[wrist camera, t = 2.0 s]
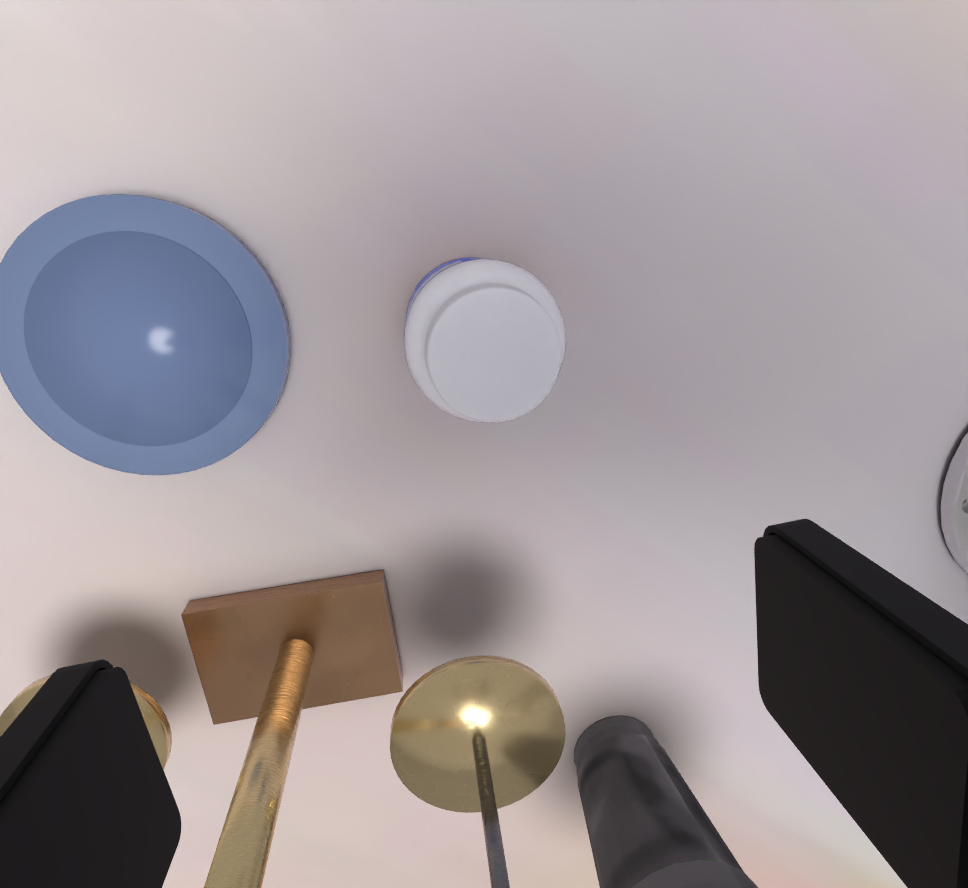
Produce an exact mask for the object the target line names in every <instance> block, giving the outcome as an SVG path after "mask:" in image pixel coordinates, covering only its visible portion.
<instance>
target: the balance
mask: <svg viewBox="0 0 968 888" xmlns="http://www.w3.org/2000/svg"><path fill="white" fill-rule="evenodd" d="M181 616H182V619H183V623H184V626H185V629H186V633H187V636H188V639H189V643H190V646H191V650H192V653H193V656H194V660H195V663H196V667H197V670H198V673H199V677H200V680H201V683H202V687H203V690H204V694H205V697H206V700H207V704H208V707H209V711H210V714H211V717H212V721H213V724H214V725H215V724H220V723H226V722H232V721H237V720H243V719H249V718H254V717H258V719H257V722H256V725H255V729H254V732H253V735H252V738H251V741H250V744H249V748H248V751H247V754H246V757H245V760H244V763H243V766H242V770H241V773H240V776H239V779H238V782H237V785H236V788H235V792H234V795H233V798H232V801H231V804H230V807H229V811H228V814H227V817H226V820H225V823H224V826H223V829H222V833H221V836H220V839H219V842H218V845H217V848H216V851H215V855H214V858H213V861H212V864H211V867H210V870H209V874H208V877H207V880H206V883H205V886H204V888H261V886H262V882H263V878H264V873H265V869H266V864H267V860H268V856H269V851H270V847H271V842H272V838H273V834H274V829H275V825H276V820H277V816H278V812H279V807H280V803H281V799H282V794H283V790H284V785H285V781H286V777H287V772H288V768H289V763H290V759H291V755H292V750H293V746H294V741H295V737H296V733H297V728H298V724H299V719H300V715H301V711H302V709H306V708H311V707H317V706H323V705H328V704H334V703H340V702H345V701H351V700H357V699H363V698H368V697H374V696H380V695H385V694H391V693H397V692H402V691H403V675H402V669H401V664H400V659H399V653H398V648H397V642H396V637H395V631H394V626H393V621H392V615H391V610H390V604H389V599H388V594H387V588H386V583H385V577H384V572H383V570H378V571H372V572H365V573H359V574H353V575H347V576H341V577H334V578H328V579H322V580H316V581H310V582H303V583H297V584H291V585H285V586H279V587H272V588H266V589H260V590H254V591H248V592H241V593H235V594H229V595H223V596H217V597H210V598H204V599H198V600H192V601H189V603H188V604H187V606H186V608H185V609H184V611H183V612H182V614H181ZM50 676H51V675H50ZM50 676H47V677H45V678H42V679H40V680H38V681H36V682H34V683H32V684H31V685H29V686H28V687H26V688H25V689H24V690H23V691H22V692H21V693H19V694H18V695H17V696H16V698H15V699H14V700H13V701H12V702H11V703H10V704H9V706H8V707H7V708H6V709H5V711H4V712H3V713H2V715H1V717H0V737H1V736H2V734H3V733H4V732H5V731H6V730H7V728H8V727H9V726H10V725H11V724H12V722H13V721H14V720H15V719H16V717H17V716H18V715H19V714H20V713H21V711H22V710H23V709H24V708H25V707H26V705H27V704H28V703H29V702H30V701H31V699H32V698H33V697H34V696H35V694H36V693H37V692H38V691H39V690H40V688H41V687H42V686H43V685H44V684H45V682H46V681H47V680H48V679H49V677H50ZM130 684H131V687H132V689H133V692H134V695H135V697H136V700H137V703H138V705H139V708H140V710H141V713H142V716H143V718H144V721H145V723H146V726H147V729H148V731H149V734H150V737H151V739H152V742H153V744H154V747H155V750H156V752H157V755H158V757H159V760H160V763H161V765H162V768H163V769H164V767H165V765H166V763H167V761H168V759H169V755H170V752H171V745H172V736H171V730H170V725H169V723H168V720H167V718H166V716H165V714H164V712H163V710H162V709H161V707H160V706H159V705H158V704H157V702H156V701H155V700H154V699H153V698H152V697H151V696H150V695H149V694H148V693H146V692H145V691H144V690H142V689H141V688H140V687H138V686H136V685H134V684H133V683H131V682H130ZM564 742H565V723H564V717H563V714H562V711H561V708H560V705H559V702H558V699H557V697H556V695H555V693H554V691H553V689H552V688H551V687H550V685H549V684H548V683H547V681H546V680H545V679H544V678H543V677H542V676H540V675H539V674H538V673H537V672H535V671H534V670H533V669H531V668H529V667H528V666H526V665H524V664H522V663H519V662H517V661H514V660H511V659H507V658H503V657H496V656H472V657H465V658H461V659H456V660H453V661H450V662H447V663H444V664H442V665H440V666H438V667H436V668H434V669H432V670H431V671H429V672H428V673H426V674H425V675H423V676H422V677H421V678H419V679H418V680H417V681H416V682H415V683H414V684H413V685H412V686H411V687H410V688H409V689H408V690H407V691H406V693H405V694H404V696H403V697H402V698H401V700H400V702H399V704H398V706H397V707H396V710H395V713H394V716H393V719H392V724H391V736H390V752H391V759H392V762H393V766H394V769H395V771H396V773H397V775H398V777H399V778H400V780H401V781H402V783H403V784H404V785H405V786H406V787H407V788H408V789H409V790H410V791H411V792H412V793H413V794H414V795H416V796H417V797H418V798H420V799H421V800H423V801H425V802H426V803H429V804H431V805H433V806H435V807H438V808H442V809H445V810H450V811H455V812H467V813H468V812H482V820H483V827H484V835H485V842H486V850H487V857H488V865H489V872H490V880H491V887H492V888H510V887H509V880H508V874H507V868H506V862H505V856H504V850H503V843H502V837H501V831H500V825H499V819H498V813H497V809H498V808H501V807H504V806H507V805H510V804H512V803H514V802H516V801H518V800H520V799H522V798H524V797H525V796H527V795H529V794H530V793H531V792H533V791H534V790H535V789H537V788H538V787H539V786H540V785H541V784H542V783H543V782H544V781H545V780H546V779H547V778H548V776H549V775H550V774H551V773H552V771H553V770H554V768H555V766H556V765H557V763H558V761H559V759H560V756H561V754H562V750H563V747H564Z"/></svg>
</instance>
